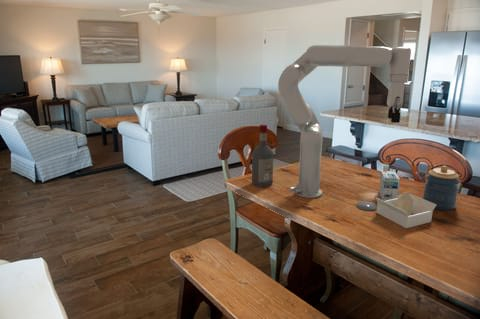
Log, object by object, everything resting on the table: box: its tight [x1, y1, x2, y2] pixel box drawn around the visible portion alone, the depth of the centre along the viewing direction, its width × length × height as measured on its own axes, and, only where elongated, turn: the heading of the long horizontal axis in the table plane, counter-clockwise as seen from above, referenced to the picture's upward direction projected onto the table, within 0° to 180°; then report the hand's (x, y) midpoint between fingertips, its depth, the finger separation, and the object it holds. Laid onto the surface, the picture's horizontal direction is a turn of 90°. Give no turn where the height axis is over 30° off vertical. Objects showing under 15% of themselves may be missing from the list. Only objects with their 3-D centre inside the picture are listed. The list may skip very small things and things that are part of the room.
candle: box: [397, 192, 413, 216], centre depth 144 cm, size 6×6×10 cm
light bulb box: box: [378, 170, 401, 201], centre depth 165 cm, size 11×7×11 cm, turn 168°
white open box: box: [374, 190, 436, 229], centre depth 145 cm, size 16×15×7 cm
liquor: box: [251, 124, 275, 188], centre depth 178 cm, size 9×9×30 cm
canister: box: [421, 165, 461, 211], centre depth 155 cm, size 13×13×18 cm
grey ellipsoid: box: [356, 200, 377, 212], centre depth 156 cm, size 8×8×1 cm
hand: (393, 120), depth 153 cm, fingers open, 9 cm apart
